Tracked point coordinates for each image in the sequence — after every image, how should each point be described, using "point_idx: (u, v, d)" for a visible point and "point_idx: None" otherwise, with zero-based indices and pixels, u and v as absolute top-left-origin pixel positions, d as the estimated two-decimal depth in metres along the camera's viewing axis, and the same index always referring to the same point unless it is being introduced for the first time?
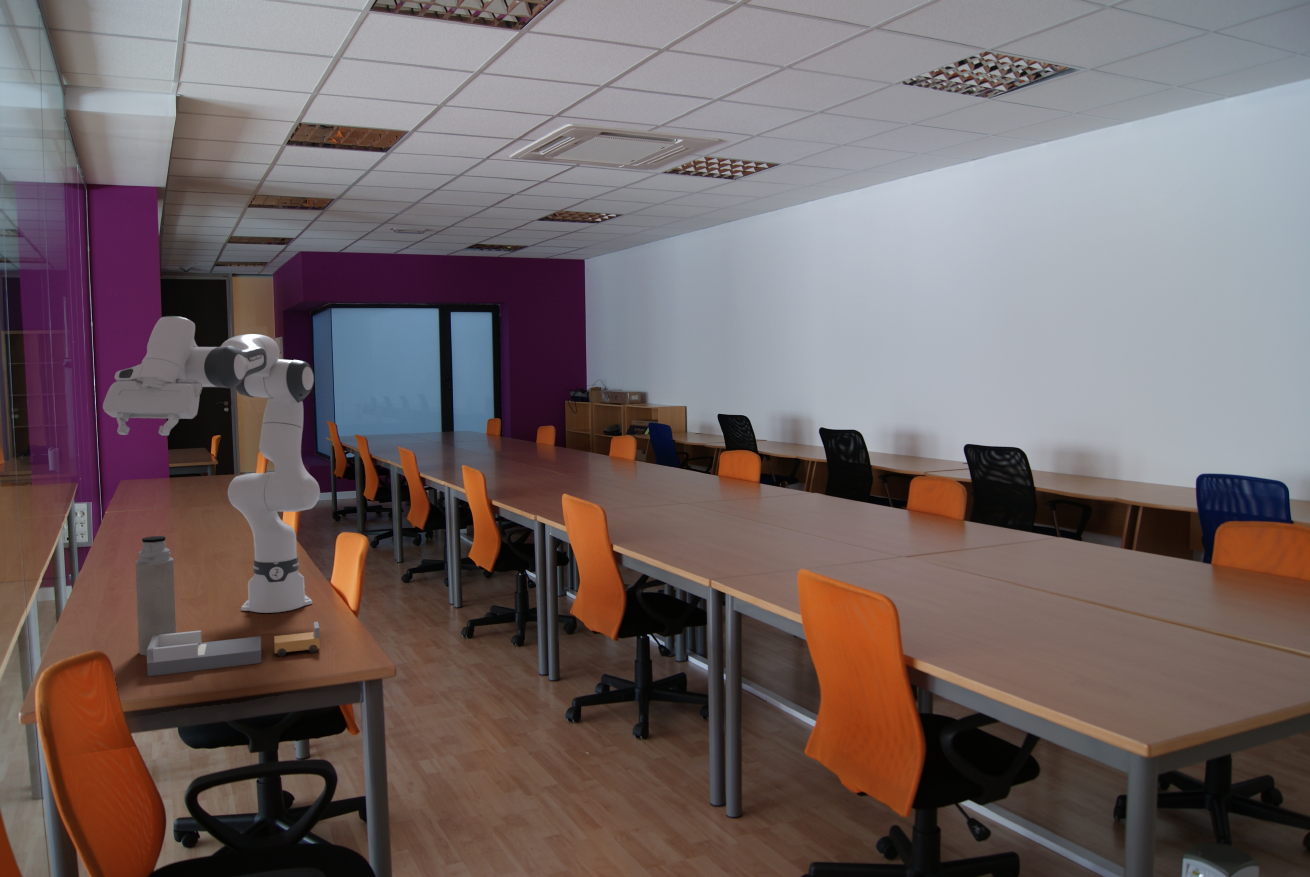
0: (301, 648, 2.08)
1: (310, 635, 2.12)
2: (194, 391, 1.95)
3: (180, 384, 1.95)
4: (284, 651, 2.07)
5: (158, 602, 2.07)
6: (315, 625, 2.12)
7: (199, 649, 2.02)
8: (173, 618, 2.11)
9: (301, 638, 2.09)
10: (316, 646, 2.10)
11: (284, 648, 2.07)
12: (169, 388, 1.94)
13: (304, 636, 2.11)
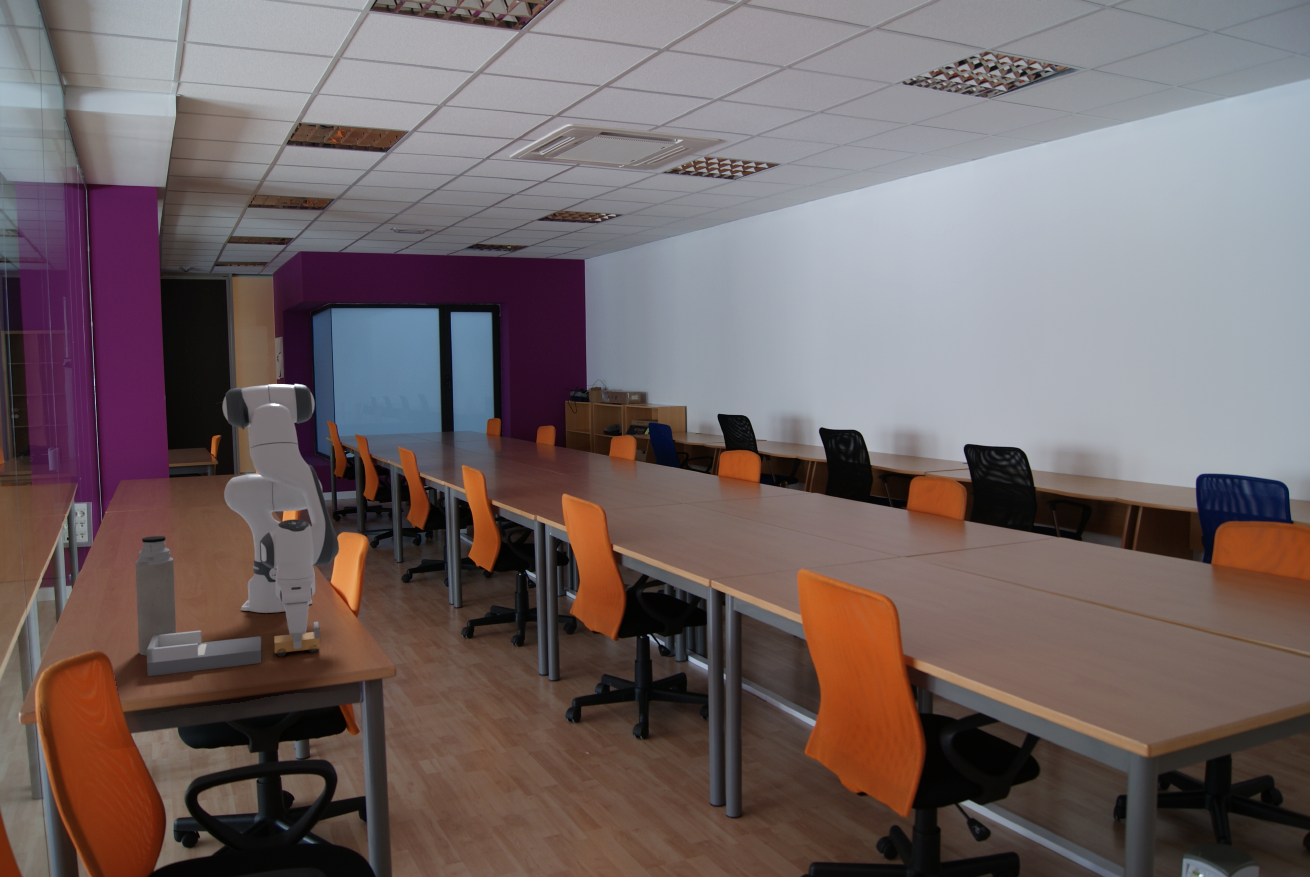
0: (301, 648, 2.08)
1: (310, 635, 2.12)
2: None
3: None
4: (284, 651, 2.07)
5: (158, 602, 2.07)
6: (315, 625, 2.12)
7: (199, 649, 2.02)
8: (173, 618, 2.11)
9: None
10: (316, 646, 2.10)
11: (284, 648, 2.07)
12: None
13: (304, 636, 2.11)
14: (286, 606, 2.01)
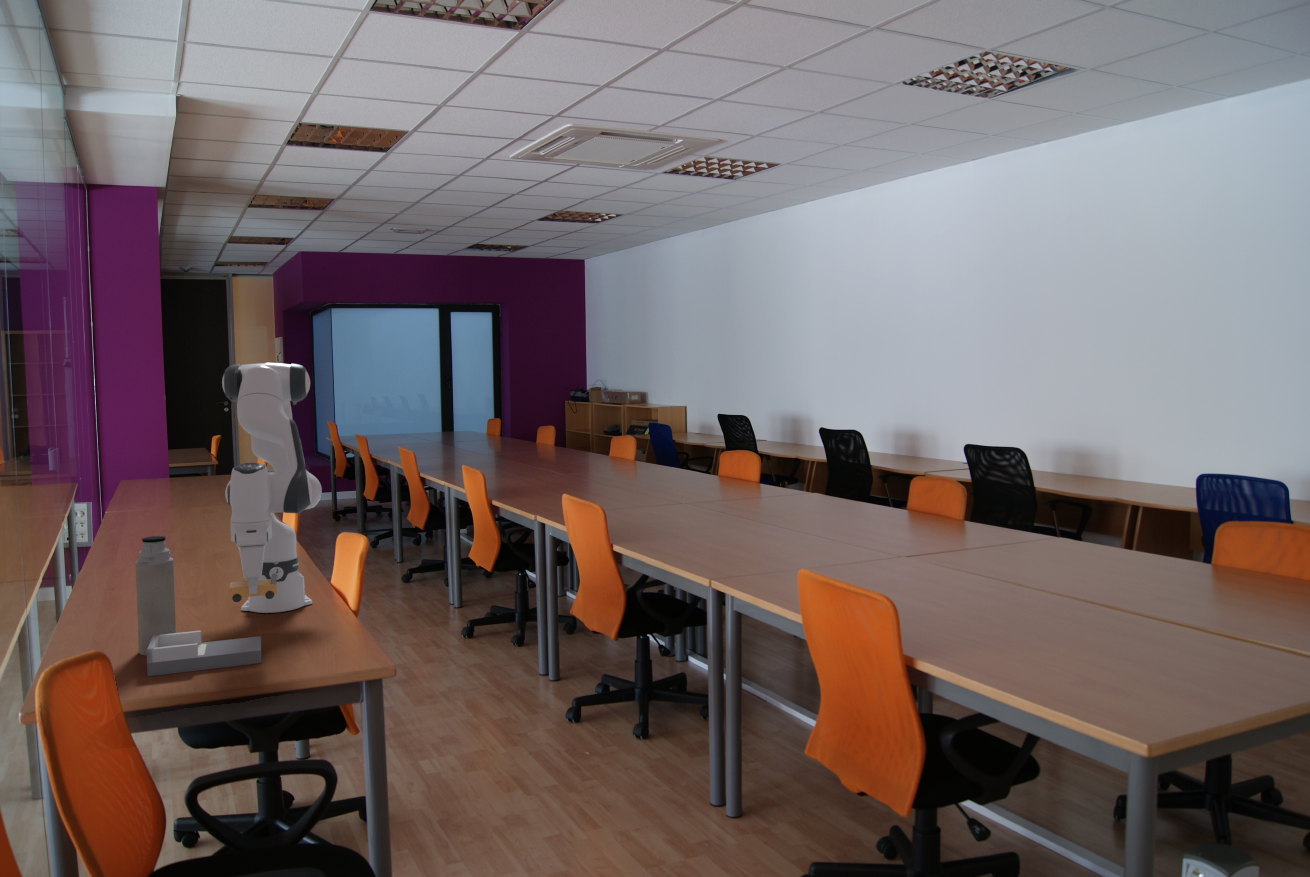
0: (257, 594, 2.04)
1: (266, 582, 2.07)
2: None
3: None
4: (239, 596, 2.02)
5: (158, 602, 2.07)
6: (272, 571, 2.07)
7: (199, 649, 2.02)
8: (173, 618, 2.11)
9: (257, 584, 2.05)
10: (273, 592, 2.05)
11: (239, 593, 2.02)
12: None
13: (261, 582, 2.06)
14: (241, 549, 1.96)
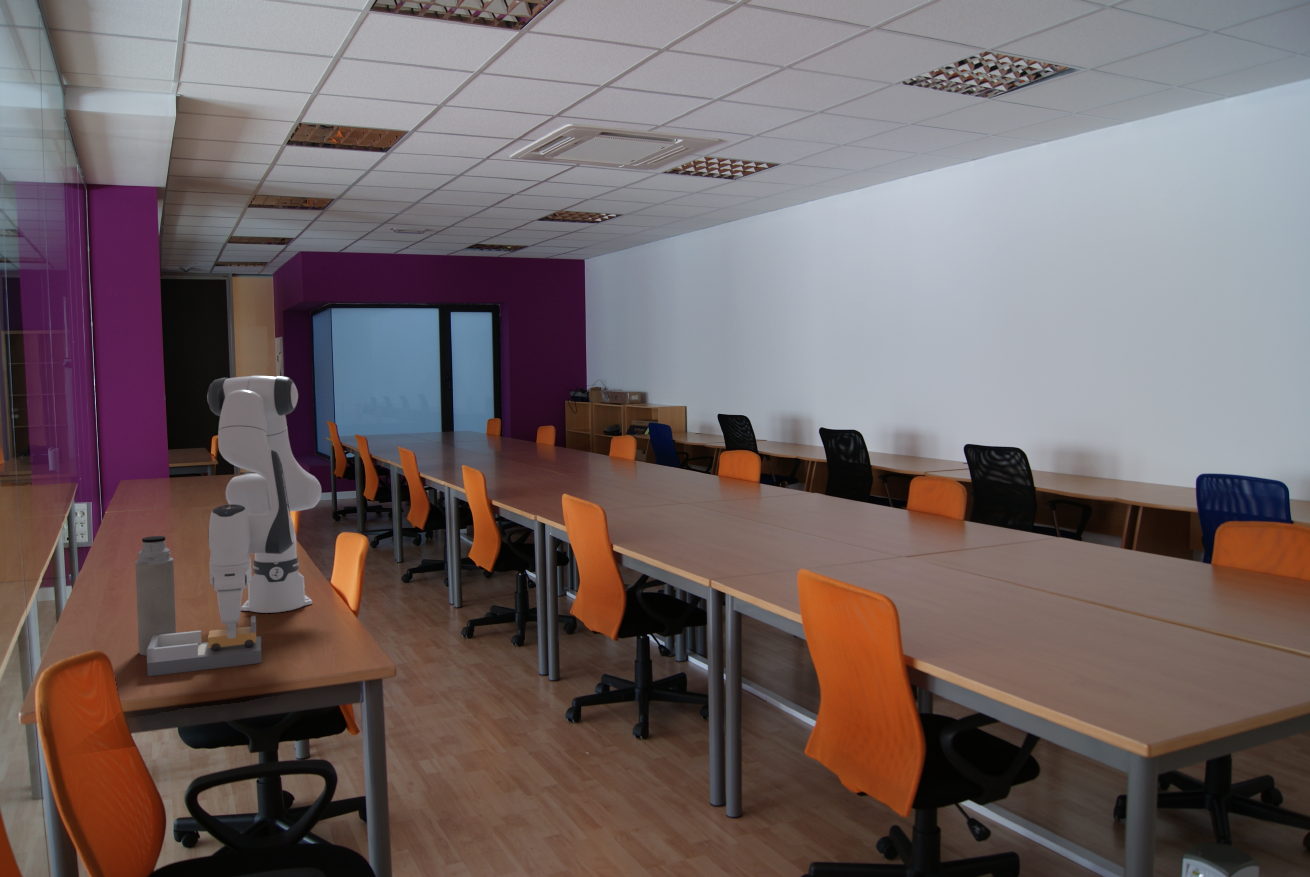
0: (236, 643, 2.03)
1: (246, 630, 2.06)
2: None
3: None
4: (218, 646, 2.01)
5: (158, 602, 2.07)
6: (251, 619, 2.06)
7: (199, 649, 2.02)
8: (173, 618, 2.11)
9: (236, 633, 2.04)
10: (252, 641, 2.04)
11: (218, 643, 2.01)
12: None
13: (240, 630, 2.05)
14: (218, 593, 1.95)
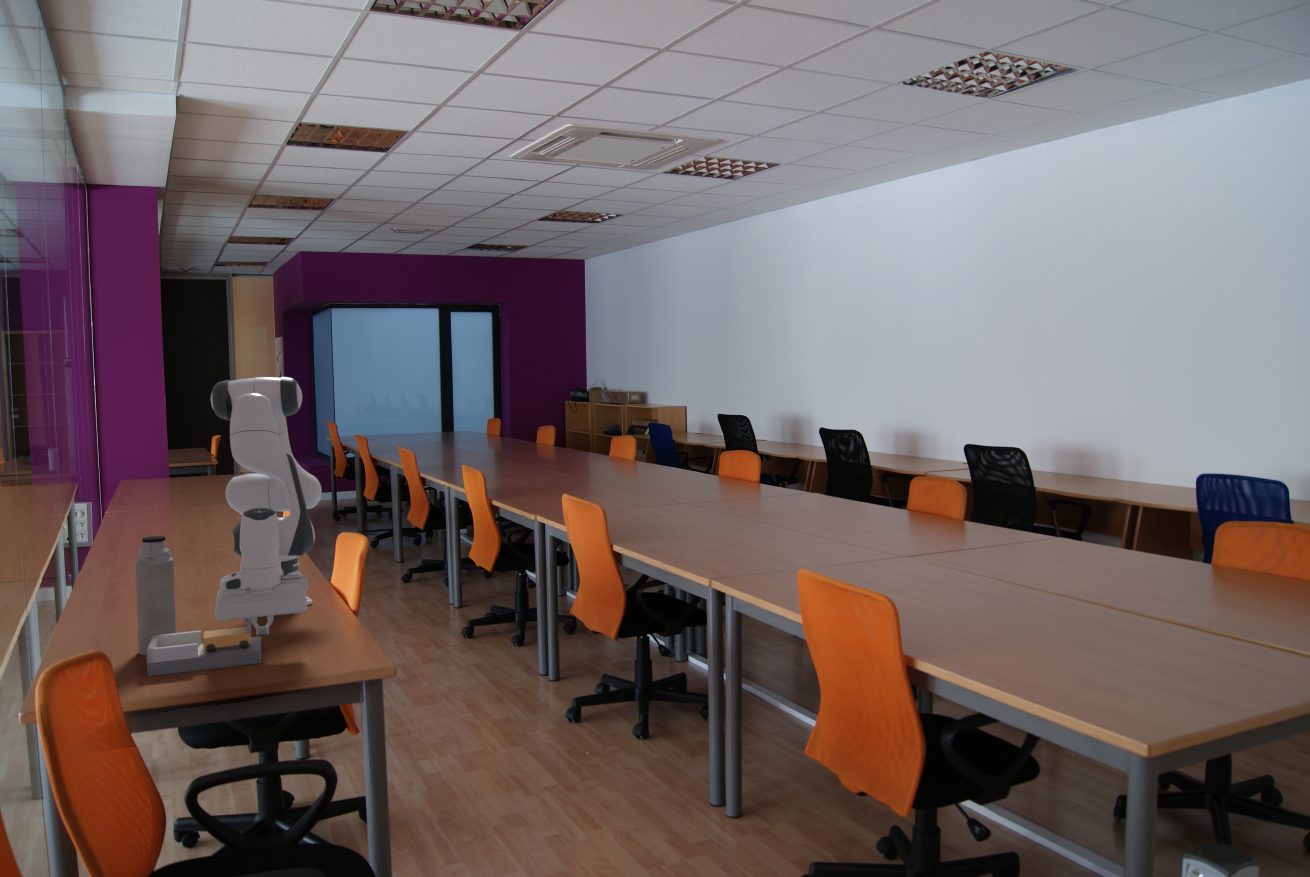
0: (231, 643, 2.02)
1: (241, 630, 2.05)
2: (304, 588, 2.10)
3: (290, 585, 2.08)
4: (213, 646, 2.01)
5: (158, 602, 2.07)
6: (246, 619, 2.06)
7: (199, 649, 2.02)
8: (173, 618, 2.11)
9: (231, 633, 2.03)
10: (247, 642, 2.04)
11: (213, 643, 2.00)
12: (280, 590, 2.07)
13: (235, 631, 2.05)
14: None
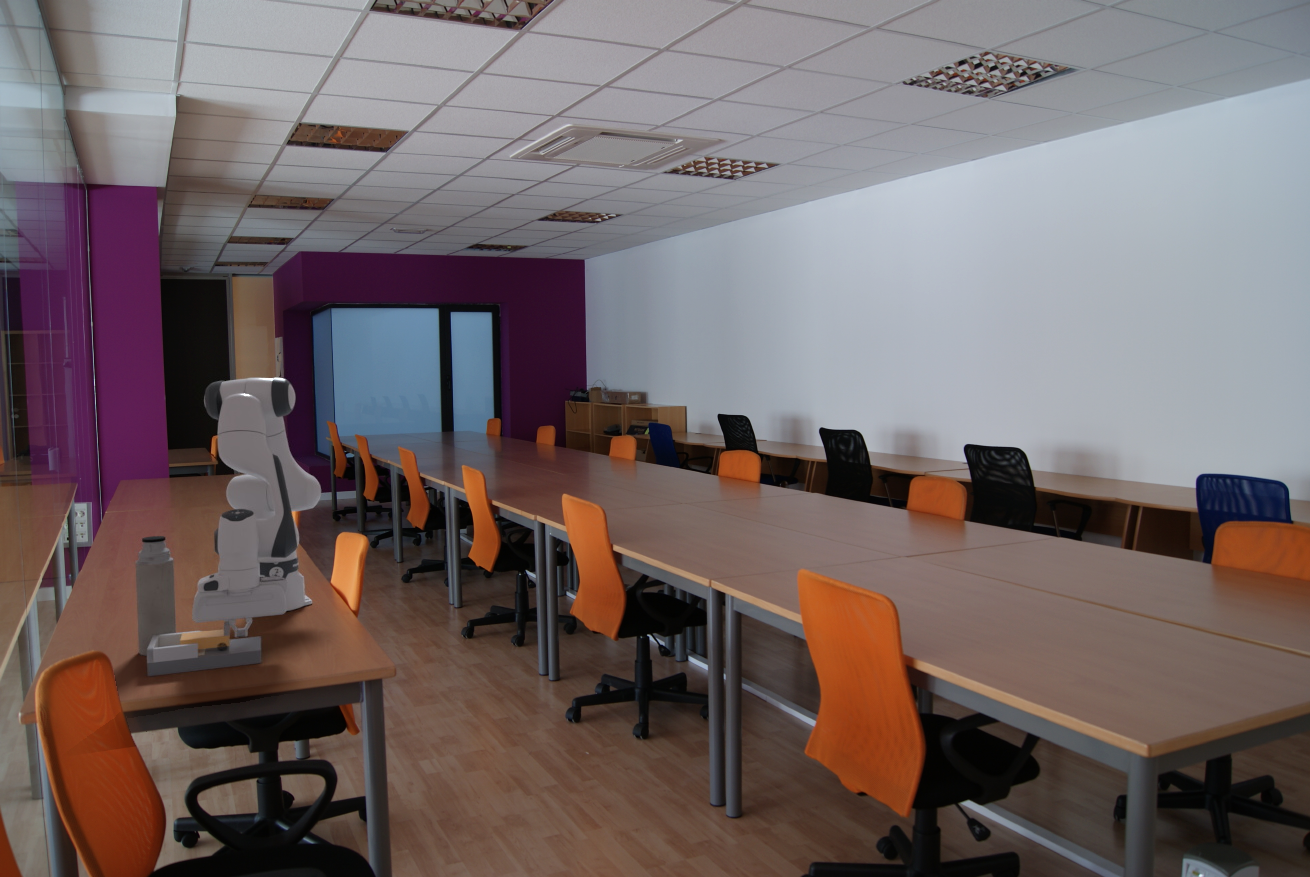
0: (209, 646, 2.00)
1: (219, 633, 2.04)
2: (283, 590, 2.08)
3: (269, 586, 2.06)
4: None
5: (158, 602, 2.07)
6: (225, 622, 2.04)
7: (199, 649, 2.02)
8: (173, 618, 2.11)
9: (209, 635, 2.01)
10: (225, 644, 2.02)
11: None
12: (259, 592, 2.05)
13: (213, 633, 2.03)
14: None
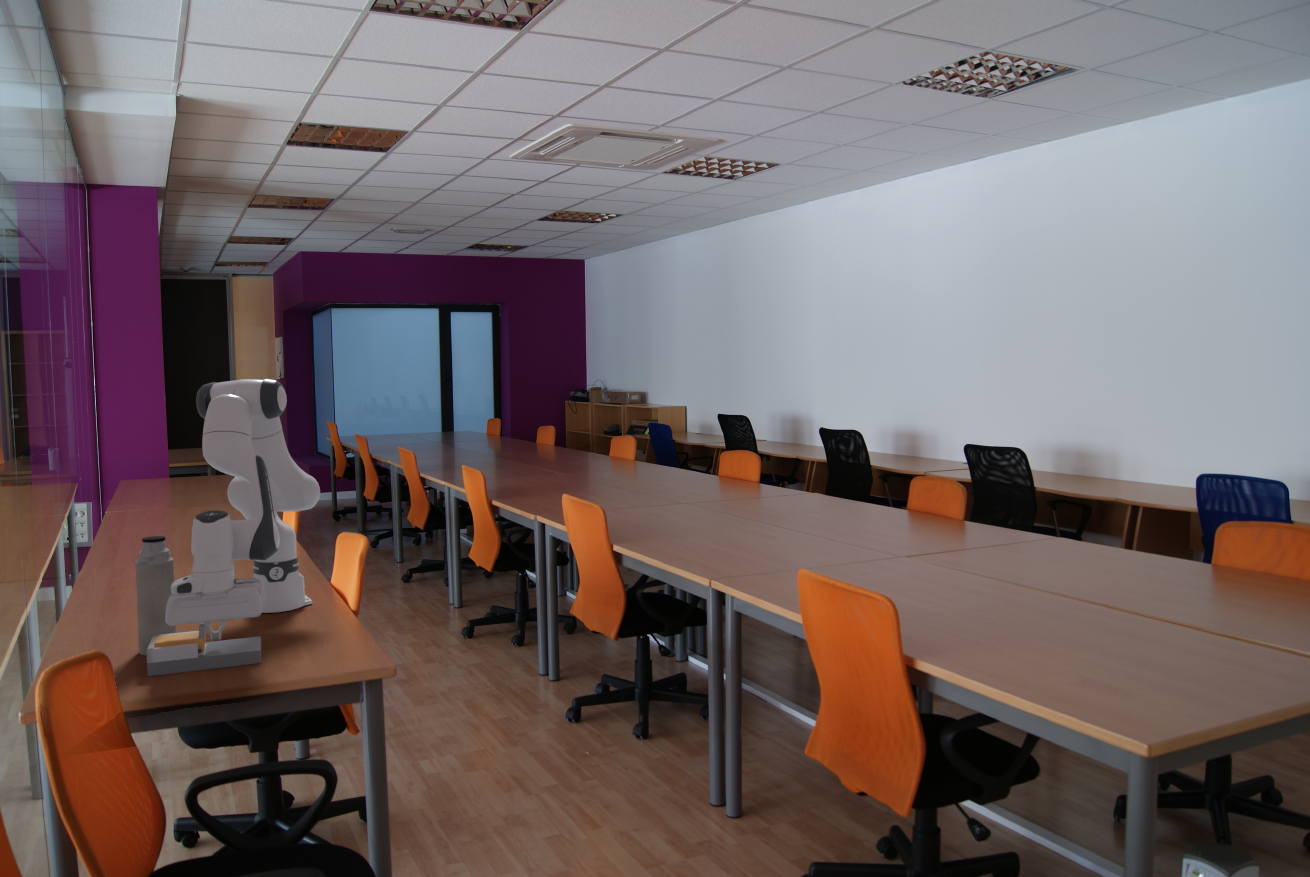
0: None
1: (195, 635, 2.01)
2: (258, 592, 2.06)
3: (244, 589, 2.04)
4: None
5: (158, 602, 2.07)
6: (200, 624, 2.02)
7: None
8: None
9: (184, 638, 1.99)
10: (201, 647, 1.99)
11: None
12: (234, 594, 2.03)
13: (188, 636, 2.01)
14: None
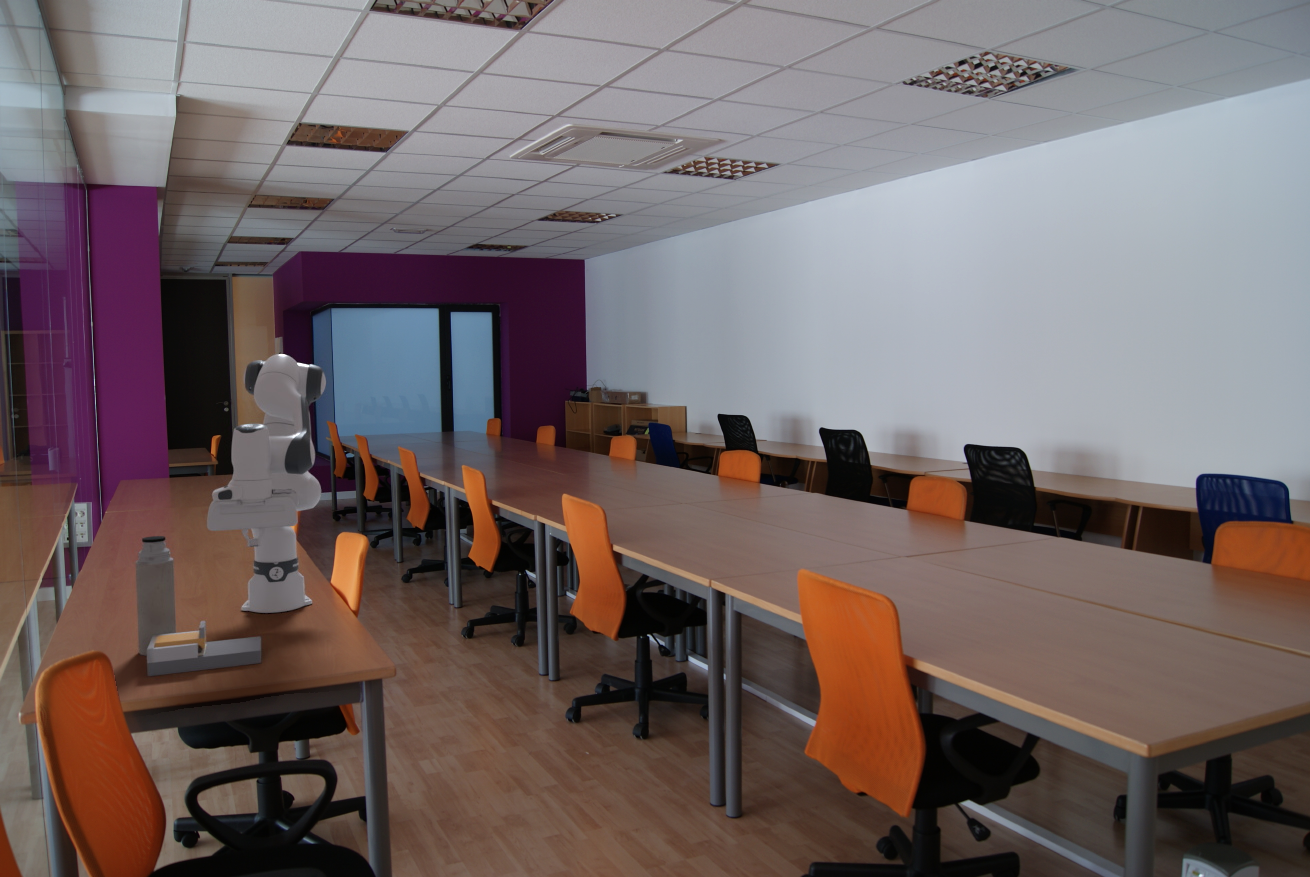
0: None
1: (195, 635, 2.01)
2: (294, 502, 2.15)
3: (281, 498, 2.13)
4: None
5: (158, 602, 2.07)
6: (200, 624, 2.02)
7: None
8: (173, 618, 2.11)
9: (184, 638, 1.99)
10: (201, 647, 1.99)
11: None
12: (271, 503, 2.12)
13: (189, 636, 2.01)
14: None
